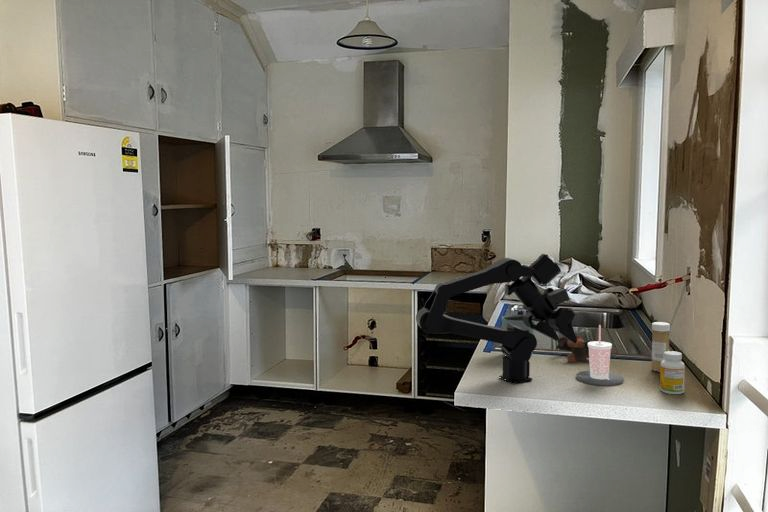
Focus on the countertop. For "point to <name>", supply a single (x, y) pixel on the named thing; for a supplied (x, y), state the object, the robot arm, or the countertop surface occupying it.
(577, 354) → the pottery mug
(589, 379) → the coaster
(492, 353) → the countertop surface
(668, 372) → the supplement bottle
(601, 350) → the beverage cup
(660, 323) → the sprinkles bottle
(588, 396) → the countertop surface
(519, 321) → the drinking glass
